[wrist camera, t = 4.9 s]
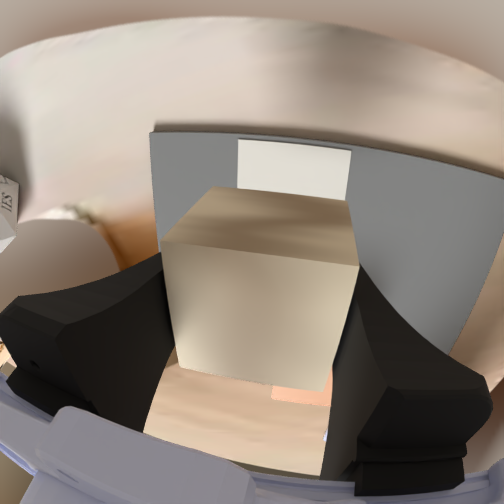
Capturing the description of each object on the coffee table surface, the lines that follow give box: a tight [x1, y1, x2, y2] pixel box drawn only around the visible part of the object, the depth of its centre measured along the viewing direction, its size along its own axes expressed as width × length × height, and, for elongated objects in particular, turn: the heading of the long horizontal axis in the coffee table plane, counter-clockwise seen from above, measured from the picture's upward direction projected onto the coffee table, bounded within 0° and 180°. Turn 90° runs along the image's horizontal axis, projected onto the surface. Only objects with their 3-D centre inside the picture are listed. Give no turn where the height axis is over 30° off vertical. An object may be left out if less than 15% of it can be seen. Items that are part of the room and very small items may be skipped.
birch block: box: [160, 186, 360, 392], centre depth 11 cm, size 5×5×4 cm
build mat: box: [149, 131, 504, 355], centre depth 21 cm, size 24×18×1 cm
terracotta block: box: [271, 367, 333, 406], centre depth 22 cm, size 5×5×4 cm
